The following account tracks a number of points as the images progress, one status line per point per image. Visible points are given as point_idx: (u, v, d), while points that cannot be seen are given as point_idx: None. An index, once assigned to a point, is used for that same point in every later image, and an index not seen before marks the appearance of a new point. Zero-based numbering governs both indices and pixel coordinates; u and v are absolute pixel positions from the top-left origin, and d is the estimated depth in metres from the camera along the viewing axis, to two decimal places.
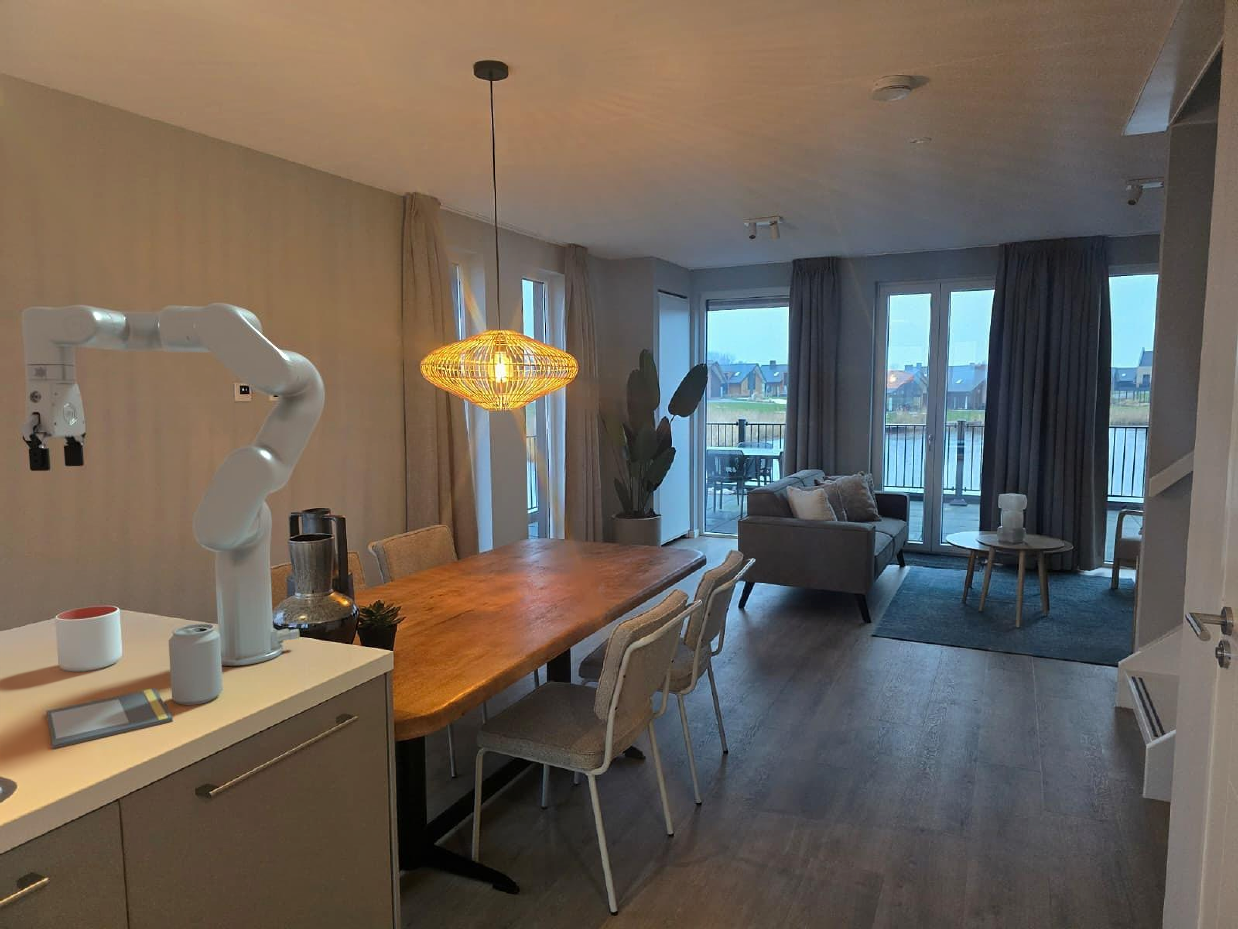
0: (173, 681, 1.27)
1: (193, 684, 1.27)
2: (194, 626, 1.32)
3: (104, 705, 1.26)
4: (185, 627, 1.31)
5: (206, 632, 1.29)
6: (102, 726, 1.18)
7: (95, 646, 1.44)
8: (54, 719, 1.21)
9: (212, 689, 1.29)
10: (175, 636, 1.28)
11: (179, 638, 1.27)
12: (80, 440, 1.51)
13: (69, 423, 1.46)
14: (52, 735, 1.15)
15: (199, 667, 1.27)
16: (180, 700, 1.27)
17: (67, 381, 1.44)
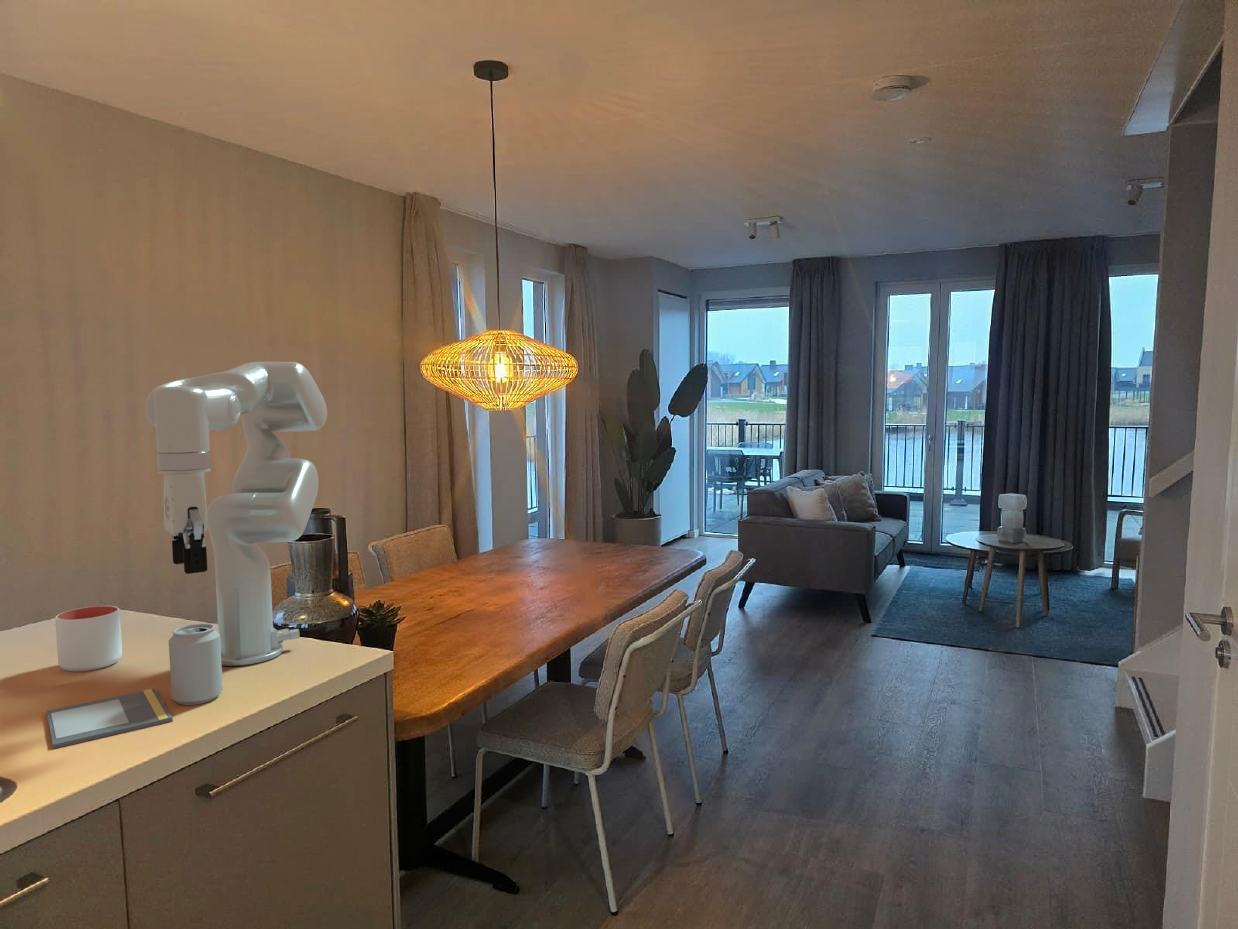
0: (173, 681, 1.27)
1: (193, 684, 1.27)
2: (194, 626, 1.32)
3: (104, 705, 1.26)
4: (185, 627, 1.31)
5: (206, 632, 1.29)
6: (102, 726, 1.18)
7: (95, 646, 1.44)
8: (54, 719, 1.21)
9: (212, 689, 1.29)
10: (175, 636, 1.28)
11: (179, 638, 1.27)
12: (185, 543, 1.24)
13: (167, 518, 1.27)
14: (52, 735, 1.15)
15: (199, 667, 1.27)
16: (180, 700, 1.27)
17: None
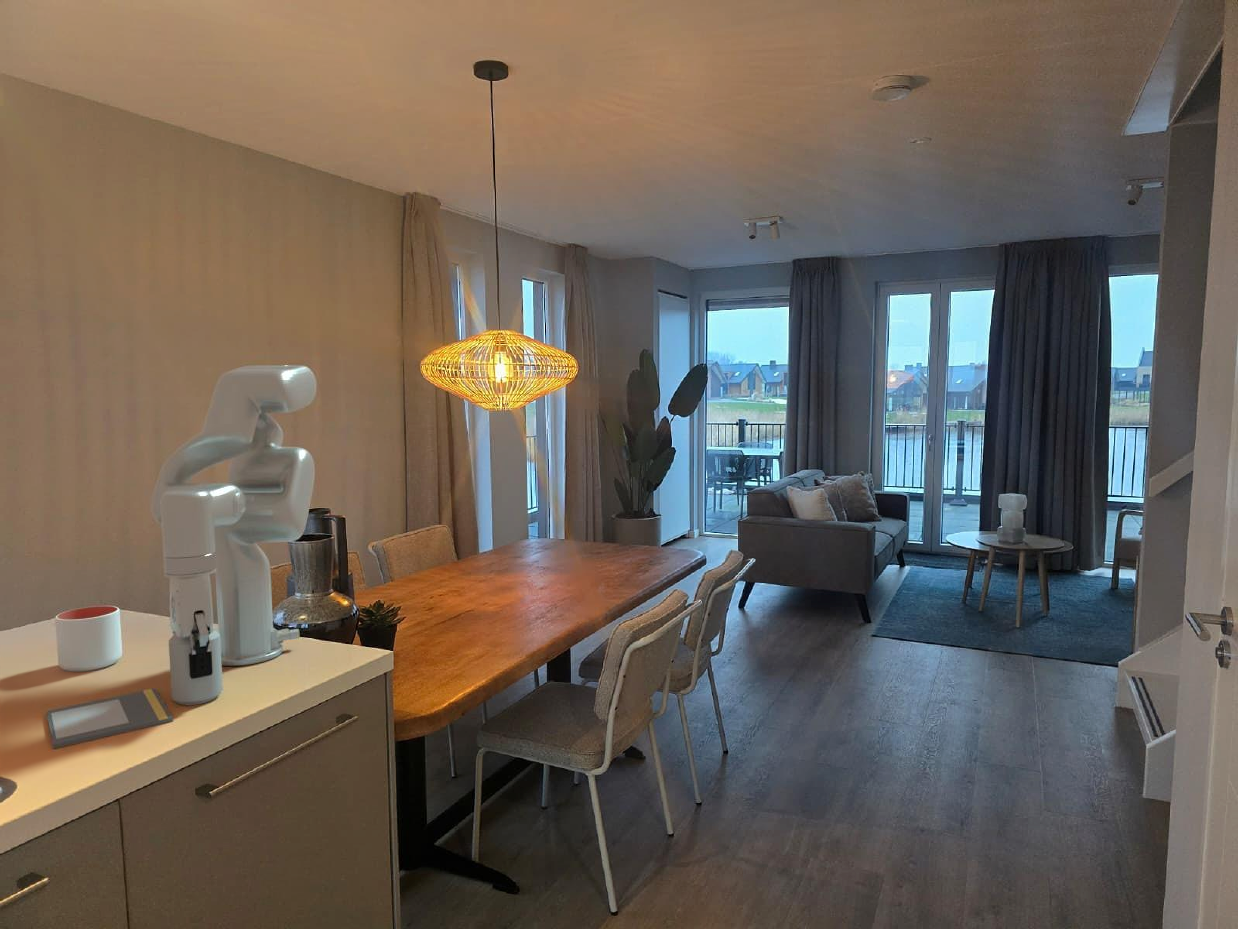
0: (173, 681, 1.27)
1: (193, 684, 1.27)
2: None
3: (104, 705, 1.26)
4: None
5: None
6: (102, 726, 1.18)
7: (95, 646, 1.44)
8: (54, 719, 1.21)
9: (212, 689, 1.29)
10: (175, 636, 1.27)
11: (179, 638, 1.27)
12: (190, 649, 1.26)
13: (173, 620, 1.28)
14: (52, 735, 1.15)
15: None
16: (180, 700, 1.27)
17: None
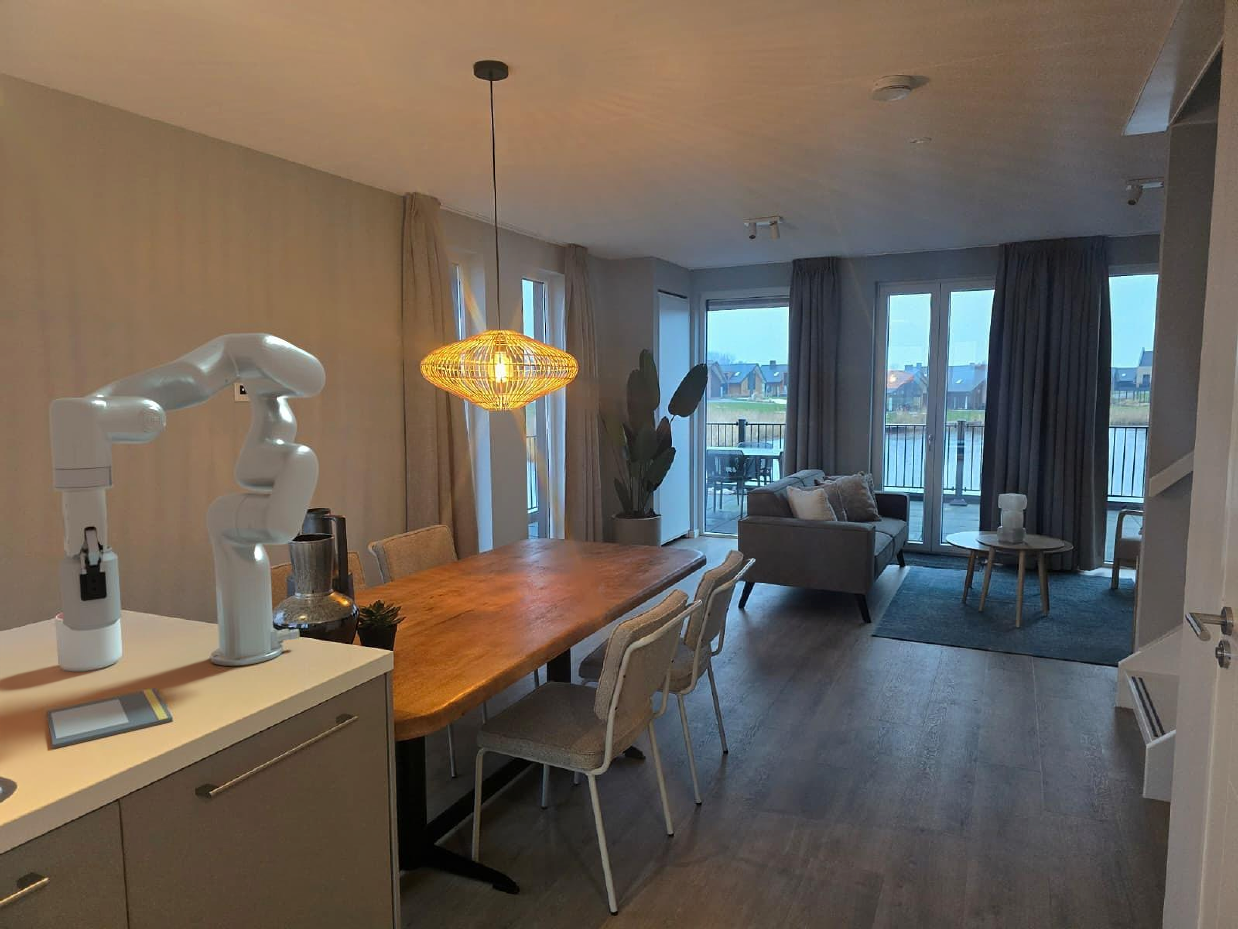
0: (64, 604, 1.18)
1: (85, 607, 1.17)
2: None
3: (104, 705, 1.26)
4: None
5: None
6: (102, 726, 1.18)
7: (95, 646, 1.44)
8: (54, 719, 1.21)
9: (107, 614, 1.19)
10: (66, 556, 1.18)
11: (70, 557, 1.17)
12: (81, 568, 1.16)
13: (64, 539, 1.18)
14: (52, 735, 1.15)
15: None
16: (71, 625, 1.17)
17: None
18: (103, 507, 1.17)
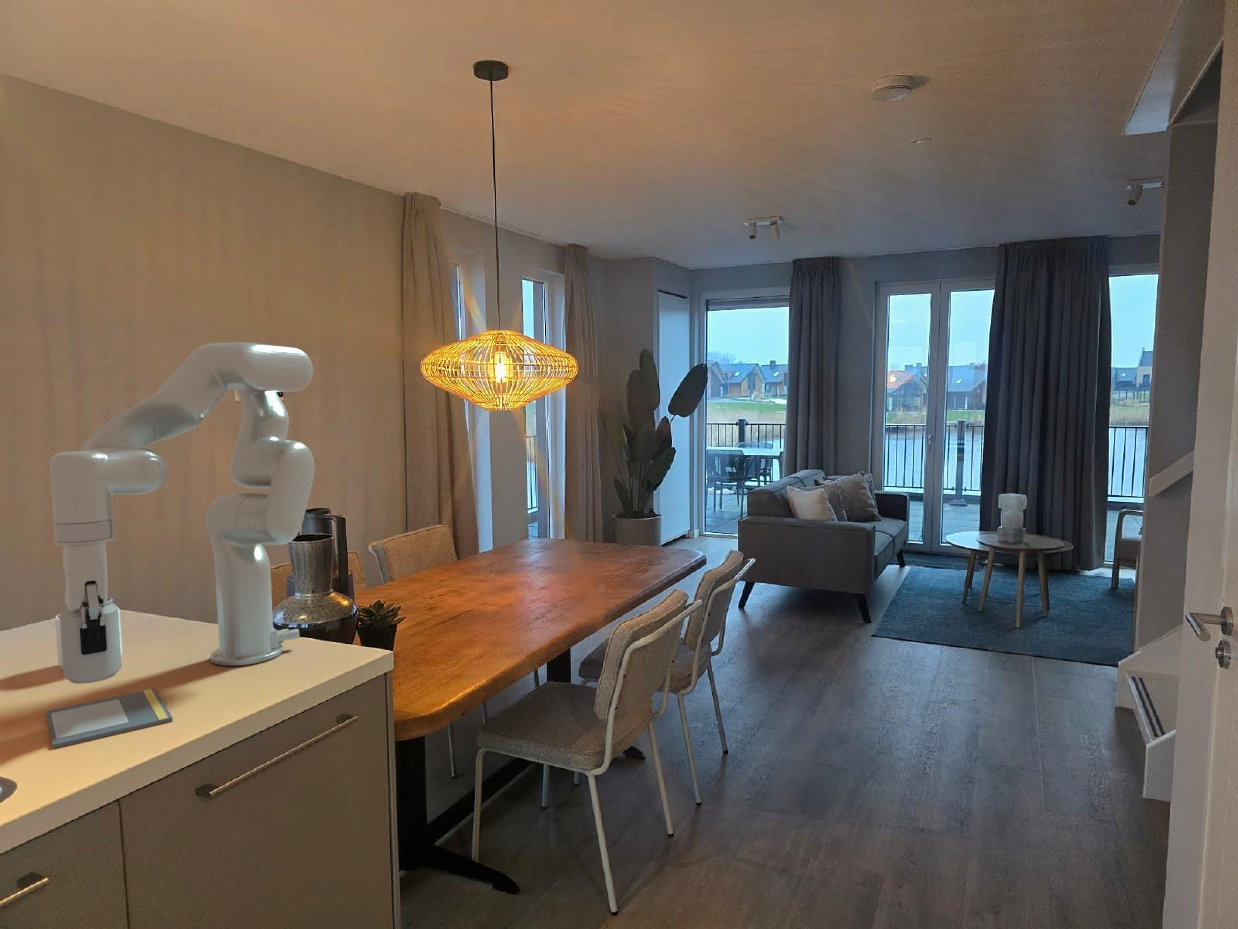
0: (64, 657, 1.18)
1: (85, 661, 1.18)
2: None
3: (104, 705, 1.26)
4: None
5: None
6: (102, 726, 1.18)
7: None
8: (54, 719, 1.21)
9: (107, 666, 1.20)
10: (66, 609, 1.18)
11: (70, 611, 1.18)
12: (81, 622, 1.16)
13: (65, 592, 1.19)
14: (52, 735, 1.15)
15: None
16: (71, 678, 1.18)
17: None
18: (104, 561, 1.18)
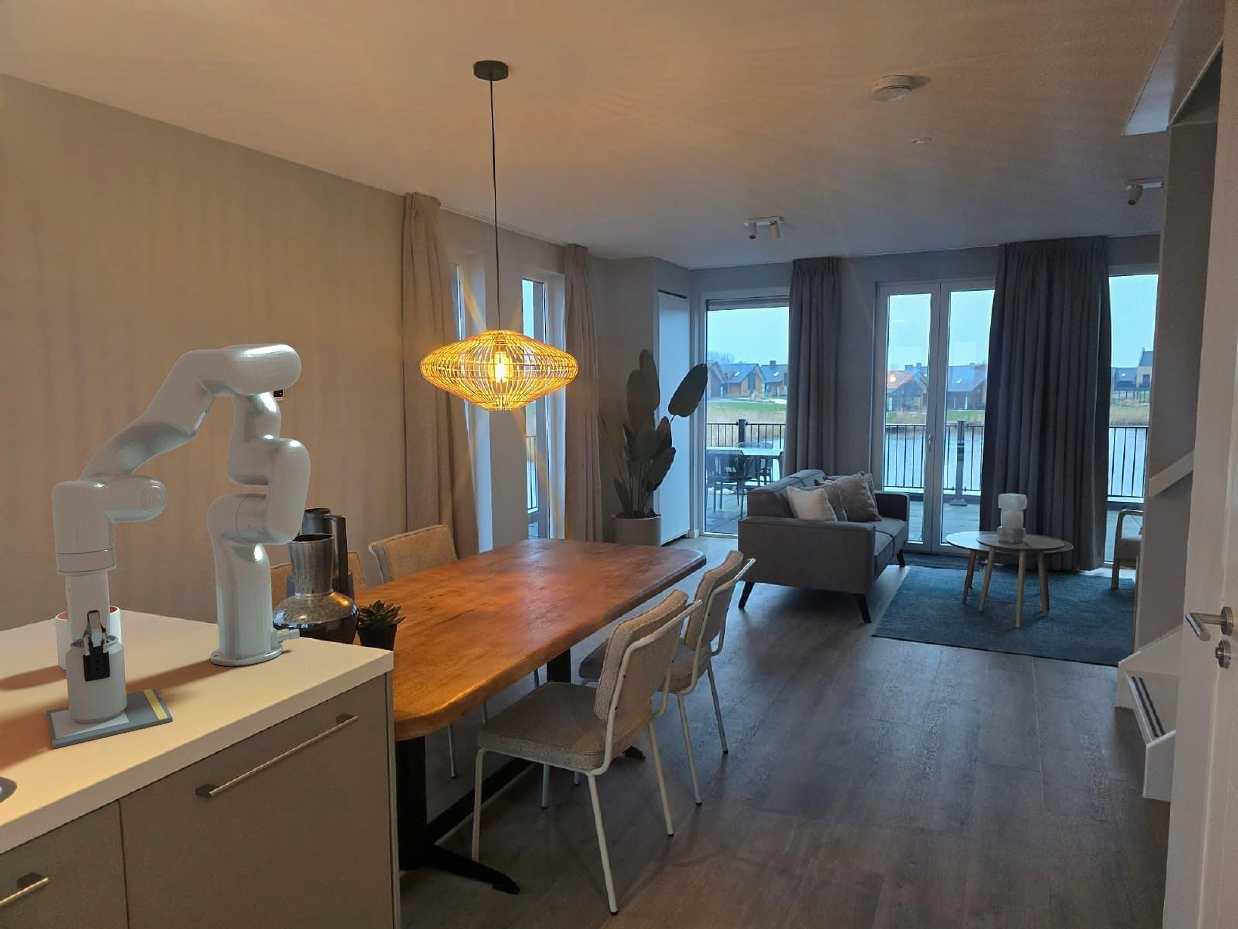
0: (70, 697, 1.19)
1: (90, 701, 1.18)
2: None
3: None
4: None
5: None
6: (102, 726, 1.18)
7: None
8: (54, 719, 1.21)
9: (112, 706, 1.20)
10: (72, 649, 1.19)
11: (76, 651, 1.18)
12: (84, 649, 1.16)
13: (68, 620, 1.19)
14: (52, 735, 1.15)
15: (97, 683, 1.19)
16: (76, 718, 1.18)
17: None
18: (106, 590, 1.18)
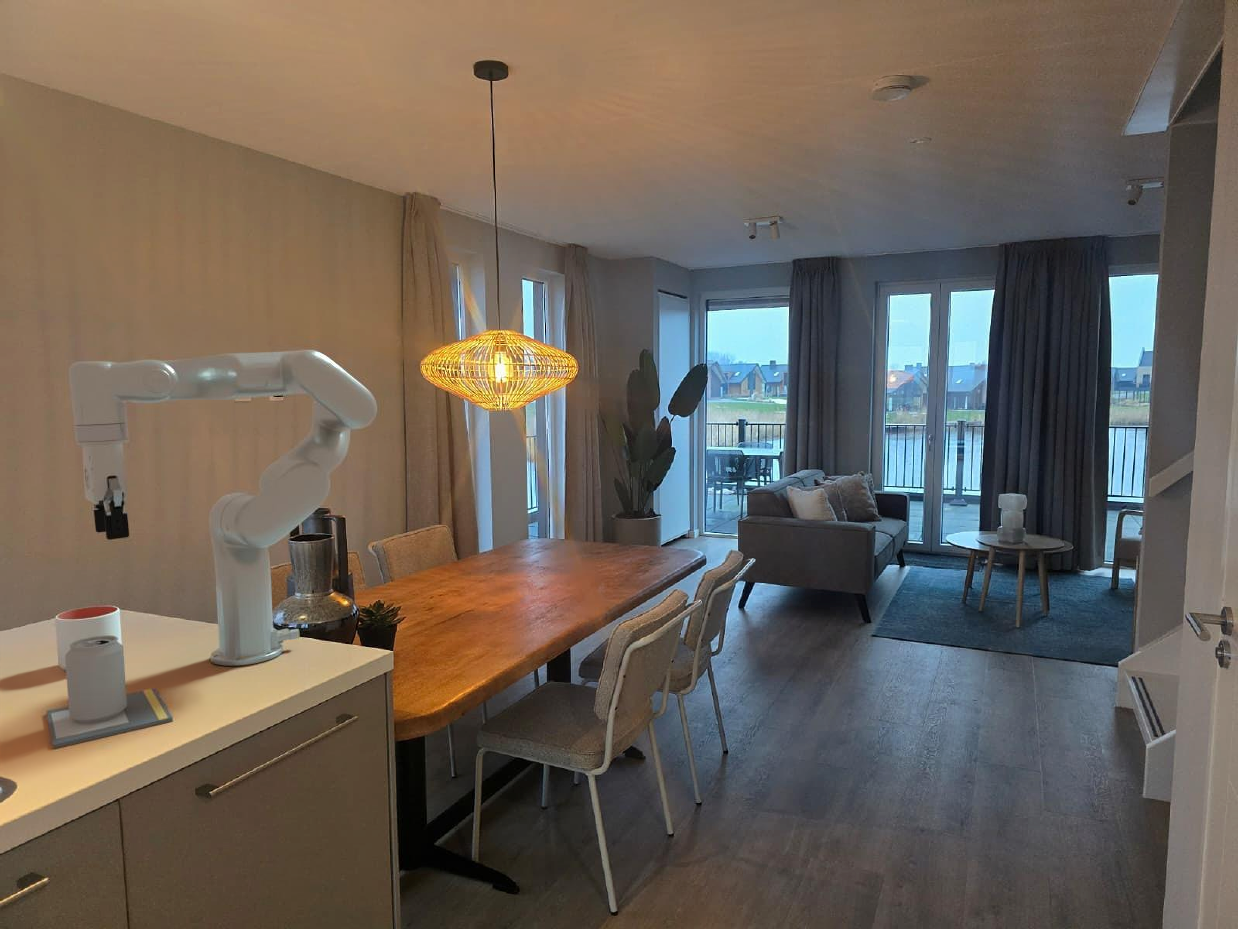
0: (70, 697, 1.19)
1: (90, 701, 1.18)
2: (96, 638, 1.24)
3: None
4: (86, 639, 1.23)
5: (106, 645, 1.20)
6: (102, 726, 1.18)
7: None
8: (54, 719, 1.21)
9: (112, 706, 1.20)
10: (72, 649, 1.19)
11: (75, 651, 1.18)
12: (106, 510, 1.30)
13: (87, 488, 1.32)
14: (52, 735, 1.15)
15: (97, 683, 1.19)
16: (76, 718, 1.18)
17: None
18: (122, 458, 1.31)
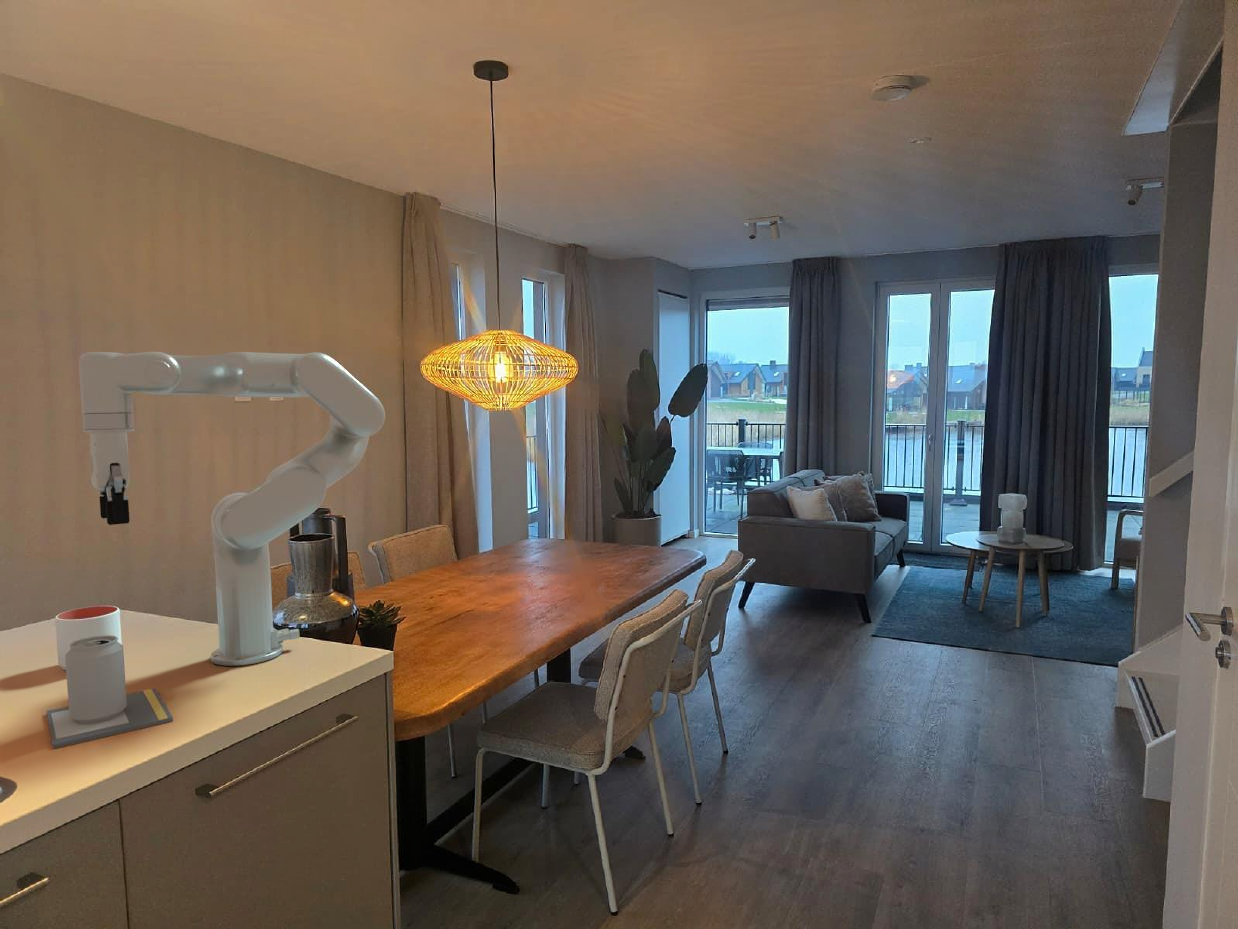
0: (70, 697, 1.19)
1: (90, 701, 1.18)
2: (96, 638, 1.24)
3: None
4: (86, 639, 1.23)
5: (106, 645, 1.20)
6: (102, 726, 1.18)
7: None
8: (54, 719, 1.21)
9: (112, 706, 1.20)
10: (72, 649, 1.19)
11: (75, 651, 1.18)
12: (107, 496, 1.34)
13: (92, 474, 1.37)
14: (52, 735, 1.15)
15: (97, 683, 1.19)
16: (76, 718, 1.18)
17: None
18: (126, 447, 1.36)
